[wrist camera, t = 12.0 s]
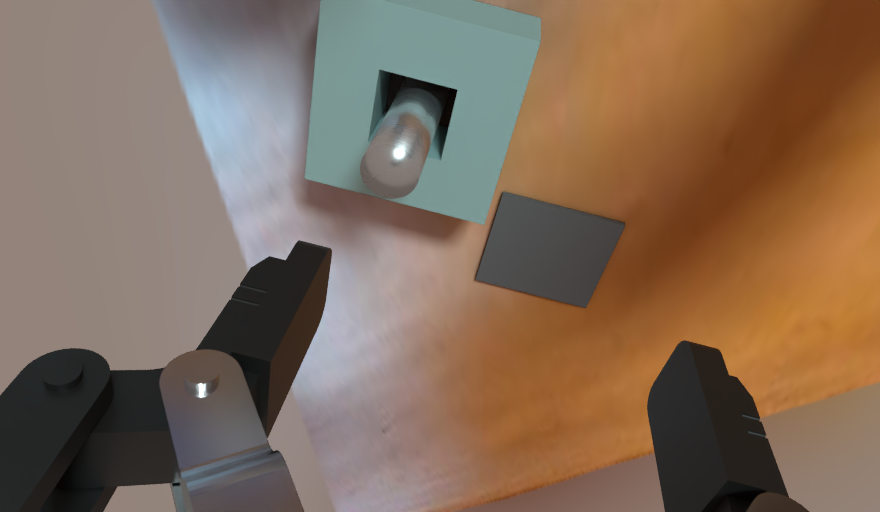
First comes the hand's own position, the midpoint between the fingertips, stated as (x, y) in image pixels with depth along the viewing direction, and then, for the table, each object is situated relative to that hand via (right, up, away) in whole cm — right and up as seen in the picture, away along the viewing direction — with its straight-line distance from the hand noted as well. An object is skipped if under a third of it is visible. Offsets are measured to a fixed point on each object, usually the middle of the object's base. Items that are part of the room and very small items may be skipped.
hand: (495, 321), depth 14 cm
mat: (+7, +2, +32) cm, 33 cm away
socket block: (-2, +13, +26) cm, 29 cm away
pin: (-2, +13, +26) cm, 29 cm away
